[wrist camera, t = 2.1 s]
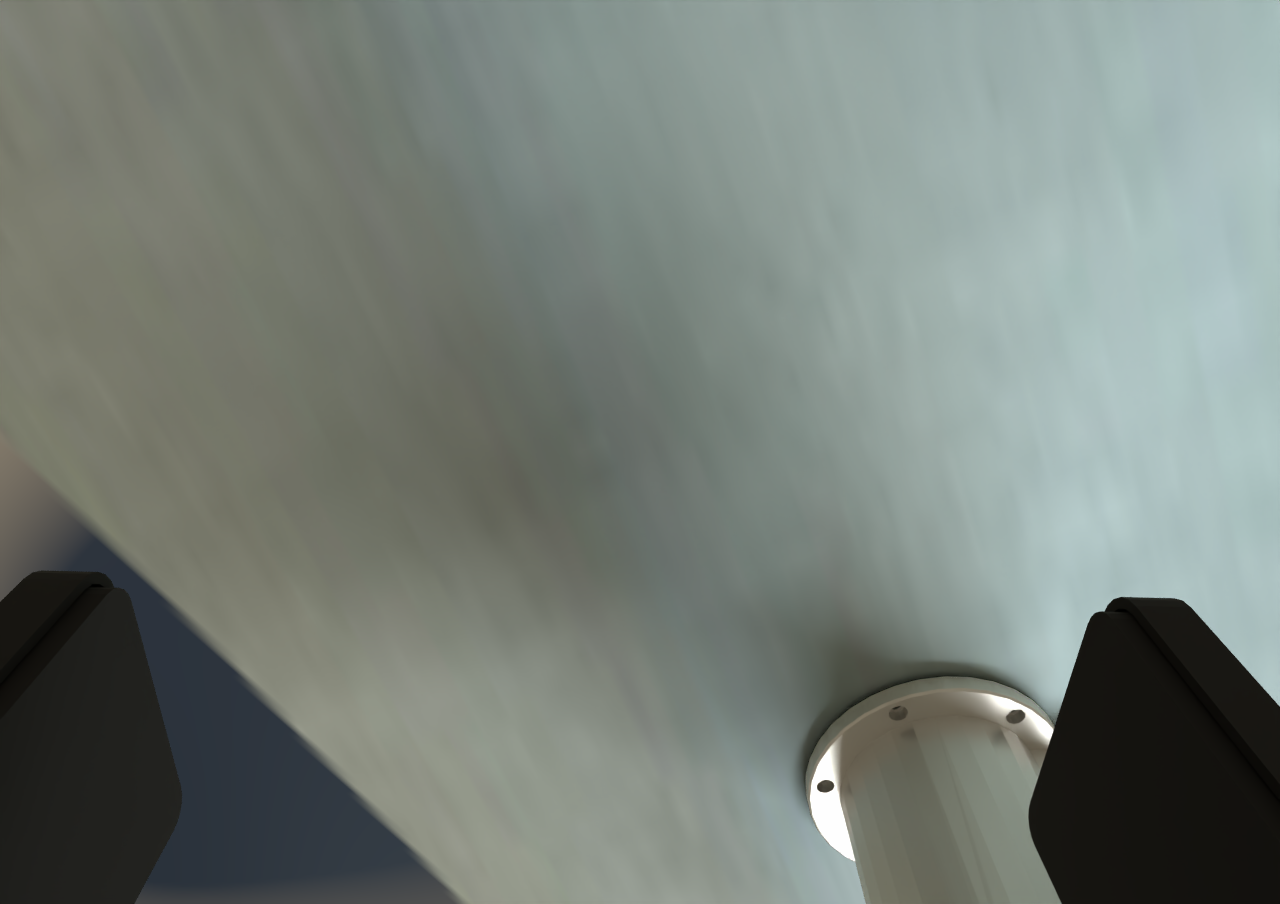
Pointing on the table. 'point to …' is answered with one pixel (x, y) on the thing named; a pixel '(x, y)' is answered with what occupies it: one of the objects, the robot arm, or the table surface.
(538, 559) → the table surface
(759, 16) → the table surface
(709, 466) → the table surface
